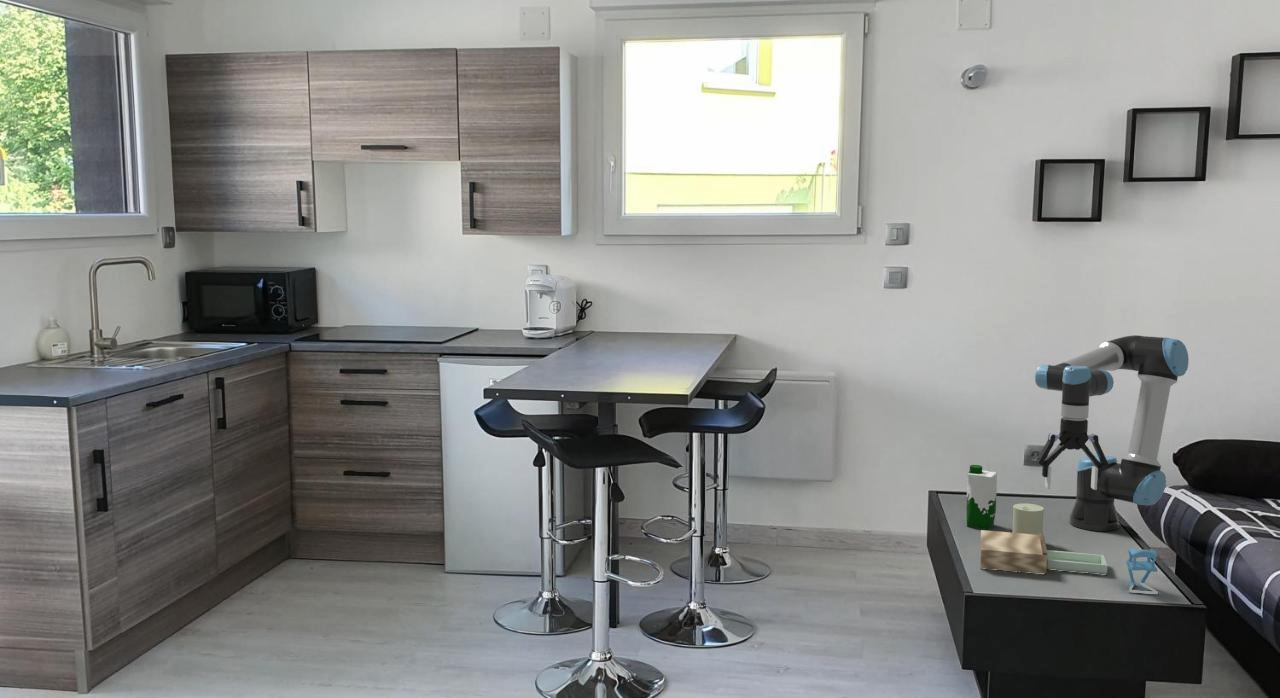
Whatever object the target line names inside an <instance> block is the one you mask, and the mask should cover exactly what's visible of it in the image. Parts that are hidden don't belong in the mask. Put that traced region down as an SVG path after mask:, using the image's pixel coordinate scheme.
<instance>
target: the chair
mask: <svg viewBox="0 0 1280 698" xmlns="http://www.w3.org/2000/svg"><path fill="white" fill-rule="evenodd" d="M1157 552H1158V551H1157V550H1155V549H1153V548H1150V549H1135V547H1130V548H1128V555H1129V558H1128V559H1126V562H1125V563H1126V566H1127V570H1128V571H1127V572H1128V576H1129V579H1130V583H1129V585H1130V586H1132V585H1134V586H1135V578H1134V573H1133V571H1146V572H1145V573H1144V576H1143V577H1142V579H1140V582H1141V583H1146V581H1147V579H1148V577H1149V576H1150V574H1151V572H1153V573H1157V572H1158V568H1157V567H1156V565H1155V562H1156V560H1157V558H1158V553H1157ZM1137 558H1146V560H1137ZM1151 559H1152V560H1151Z"/></svg>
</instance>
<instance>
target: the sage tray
mask: <svg viewBox="0 0 1280 698" xmlns="http://www.w3.org/2000/svg"><path fill="white" fill-rule="evenodd" d="M1107 563H1108V562H1107V560H1106V558H1105V555H1104V554H1095V553H1084V552H1073V551H1061V550H1050V549H1049V550H1048V549H1047V569H1056V570H1063V571H1076V572H1088V573H1099V574H1107V575H1108V564H1107Z"/></svg>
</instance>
